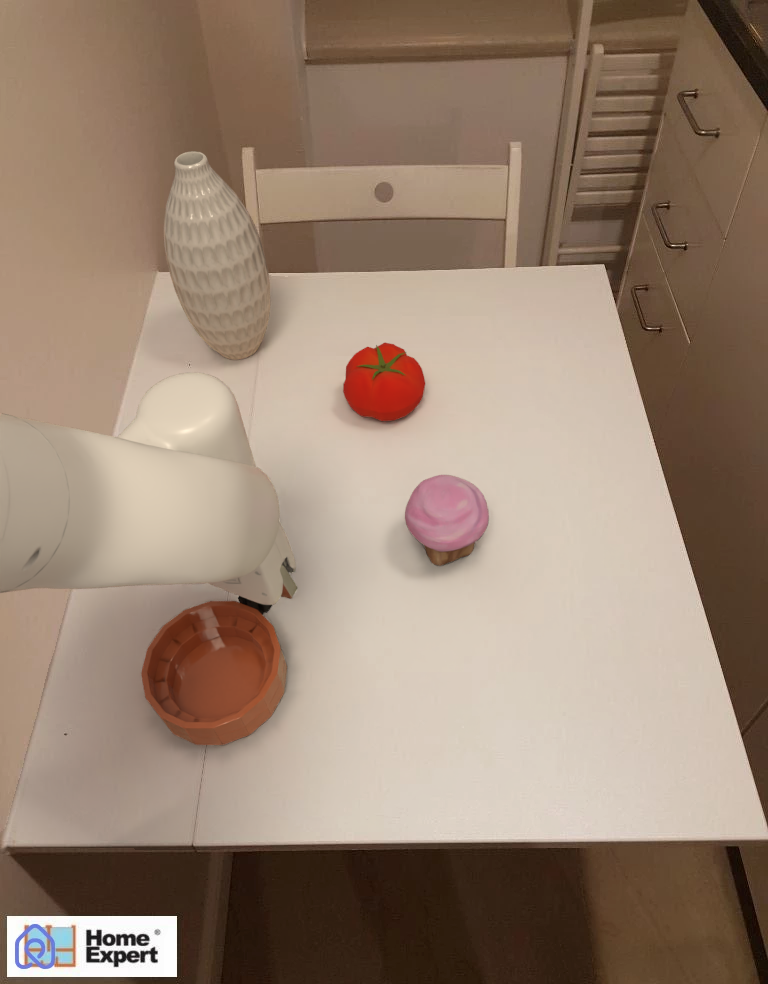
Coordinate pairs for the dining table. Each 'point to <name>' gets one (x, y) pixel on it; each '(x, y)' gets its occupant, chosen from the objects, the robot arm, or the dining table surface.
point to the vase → (216, 259)
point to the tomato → (383, 382)
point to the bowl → (215, 672)
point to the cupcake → (447, 517)
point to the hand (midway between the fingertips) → (259, 607)
